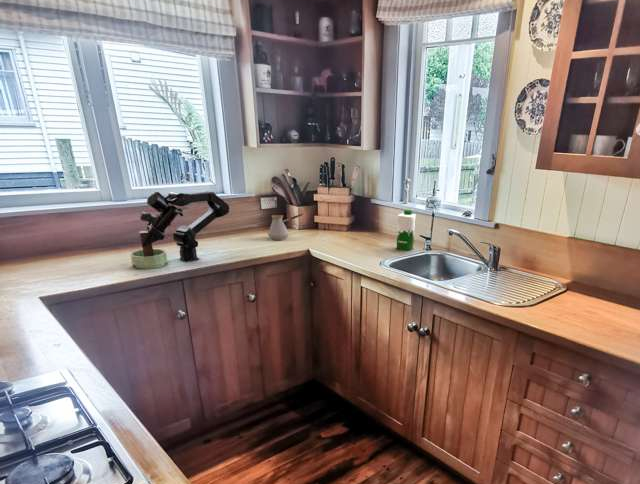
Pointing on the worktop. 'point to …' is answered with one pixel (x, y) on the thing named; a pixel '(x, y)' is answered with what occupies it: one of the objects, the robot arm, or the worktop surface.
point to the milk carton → (405, 230)
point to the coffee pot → (279, 227)
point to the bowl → (148, 259)
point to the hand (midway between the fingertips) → (143, 244)
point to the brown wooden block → (147, 249)
